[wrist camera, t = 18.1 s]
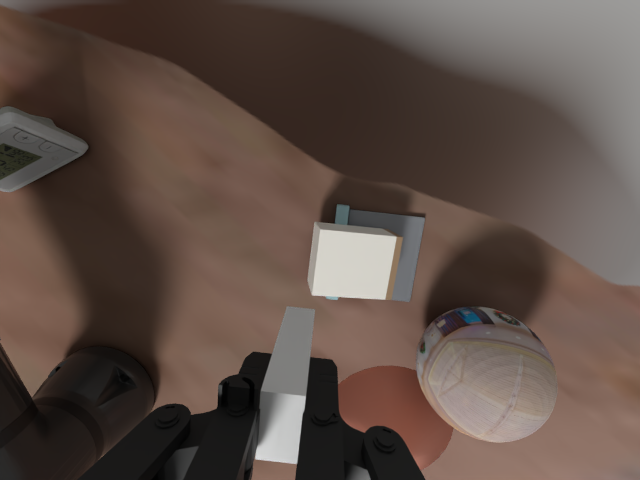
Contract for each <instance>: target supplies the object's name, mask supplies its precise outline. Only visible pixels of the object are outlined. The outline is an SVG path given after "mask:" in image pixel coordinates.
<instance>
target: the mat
mask: <svg viewBox="0 0 640 480" xmlns="http://www.w3.org/2000/svg"><path fill="white" fill-rule="evenodd" d="M424 221H425V218H424V217H416V216H407V215H398V214H389V213H380V212H371V211H361V210H352V209H350V212H349V220H348V225H352V226H362V227H372V228H382V229H389V230H390V231H392V232H394V233H396V234H398V235H400V236H402V237H403V241H402V246H401V251H400V257H399V262H398V267H397V273H396V278H395V283H394V289H393V294H392V300H397V301H406V302H410V298H411V293H412V287H413V282H414V276H415V271H416V265H417V260H418V254H419V249H420V243H421V238H422V232H423V226H424Z"/></svg>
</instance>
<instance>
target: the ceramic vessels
mask: <svg viewBox="0 0 640 480" xmlns="http://www.w3.org/2000/svg"><path fill="white" fill-rule="evenodd" d="M338 399H339V413H340V415H341V417H342V419H343V420H344V421H345V423H347V424H348V425H349V426H350V427H352V428H354V429H356V430H359V431H361V432H364V433H365V431H367V430H368V429H369V428H370V427H373V426H385V427H388V428H391V429H393V430H394V431H395V432H397V433H398V434H399V435H400V436H401V437H402V439H403V440H404V441H405V443H406V445H407V447H408V449H409V451H410V452H411V454H412V456H413V458H414V460H415V461H416V463H417V465H418V467H419V469H420V470H422V469H424V468H426V467H427V466H429V465H430V464H431V463H433V462H434V461H435V460H436V459H437V458H439V456H440V455H441V454H442V453H443V451H444V450H445V449H446V447H447V445H448V443H449V441H450V439H451V436H452V432H453V428H454V427H452V426H451V425H449V424H448V423H447V422H446V421H444V420H443V419H442V418H441V417H440V416H439V415H438V414H437V413H436V412H435V410H434V409H433V408H432V406H431V405H430V404H429V402H428V401H427V399H426V397H425V395H424V393H423V391H422V389H421V386H420V383H419V380H418V376H417V371H415V370H412V369H409V368H405V367H398V366H377V367H373V368H368V369H364V370H362V371H360V372H357V373H355V374H352V375H351V376H349V377H348V378H346V379H345V380H343V381H342V382H341V383H340V384H339V385H338Z"/></svg>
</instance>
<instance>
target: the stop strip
mask: <svg viewBox="0 0 640 480" xmlns="http://www.w3.org/2000/svg"><path fill="white" fill-rule="evenodd" d="M349 207H350V206H349V205H341V204H337V208H336V216H335V224H342V225H347V223H348V215H349ZM326 299H333V300H338V297H332V296H326Z"/></svg>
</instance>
